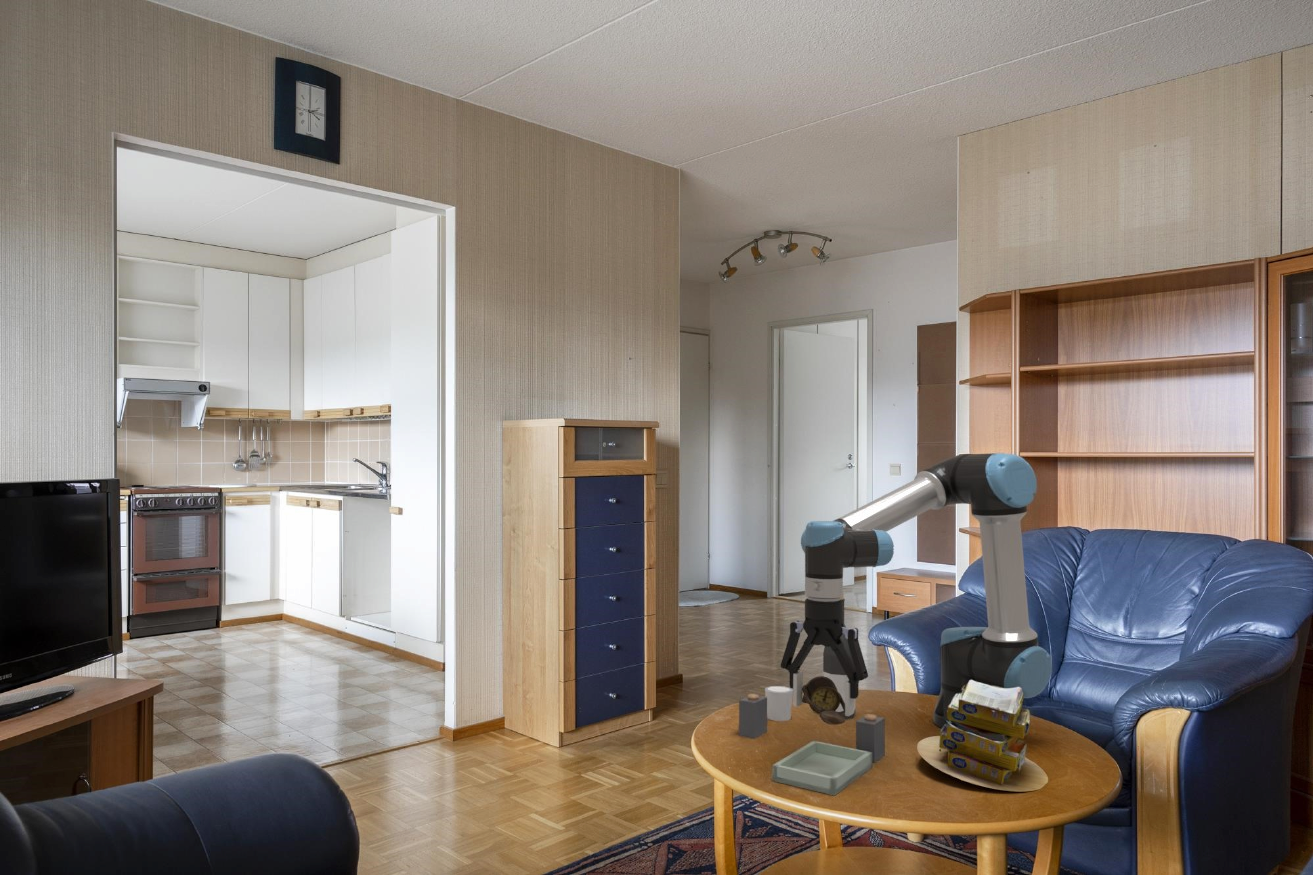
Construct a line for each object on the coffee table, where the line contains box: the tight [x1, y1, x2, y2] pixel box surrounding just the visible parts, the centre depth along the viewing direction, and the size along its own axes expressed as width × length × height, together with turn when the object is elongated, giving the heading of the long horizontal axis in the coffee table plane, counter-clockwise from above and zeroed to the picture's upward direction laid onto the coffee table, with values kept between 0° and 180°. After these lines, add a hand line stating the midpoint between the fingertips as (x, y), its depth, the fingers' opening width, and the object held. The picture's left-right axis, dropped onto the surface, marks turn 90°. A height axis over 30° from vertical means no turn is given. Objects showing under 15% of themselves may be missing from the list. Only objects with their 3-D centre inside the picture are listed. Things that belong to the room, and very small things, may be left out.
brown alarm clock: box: [802, 675, 847, 726], centre depth 176 cm, size 7×13×10 cm
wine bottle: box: [822, 592, 856, 720], centre depth 217 cm, size 8×8×30 cm
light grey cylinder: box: [764, 685, 793, 722], centre depth 214 cm, size 7×7×7 cm
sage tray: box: [771, 740, 873, 796], centre depth 175 cm, size 13×19×3 cm
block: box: [855, 713, 886, 765], centre depth 185 cm, size 4×6×9 cm, turn 145°
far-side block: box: [738, 693, 768, 739], centre depth 201 cm, size 4×6×9 cm, turn 145°
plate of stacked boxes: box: [916, 680, 1049, 792], centre depth 178 cm, size 25×25×17 cm
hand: (823, 709), depth 175 cm, fingers closed on brown alarm clock, 10 cm apart
